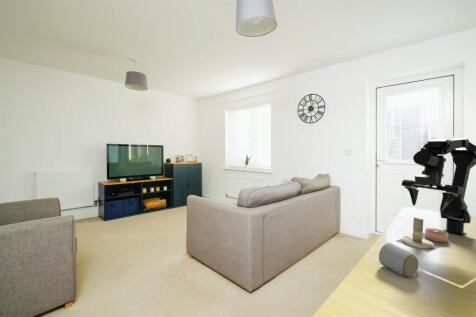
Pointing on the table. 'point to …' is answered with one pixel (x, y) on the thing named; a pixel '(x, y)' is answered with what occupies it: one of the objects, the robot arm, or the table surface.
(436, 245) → the slate mat
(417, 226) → the birch lid
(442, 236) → the terracotta bowl
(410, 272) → the ceramic mug
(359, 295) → the table surface
